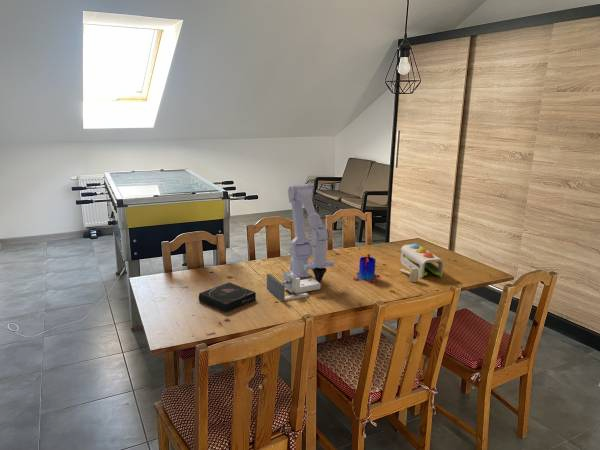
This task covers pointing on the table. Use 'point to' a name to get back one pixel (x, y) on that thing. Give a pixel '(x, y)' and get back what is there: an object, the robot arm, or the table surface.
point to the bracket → (306, 285)
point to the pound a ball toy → (419, 262)
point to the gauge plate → (289, 282)
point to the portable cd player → (227, 297)
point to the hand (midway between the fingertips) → (318, 282)
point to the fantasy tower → (367, 270)
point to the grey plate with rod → (280, 289)
